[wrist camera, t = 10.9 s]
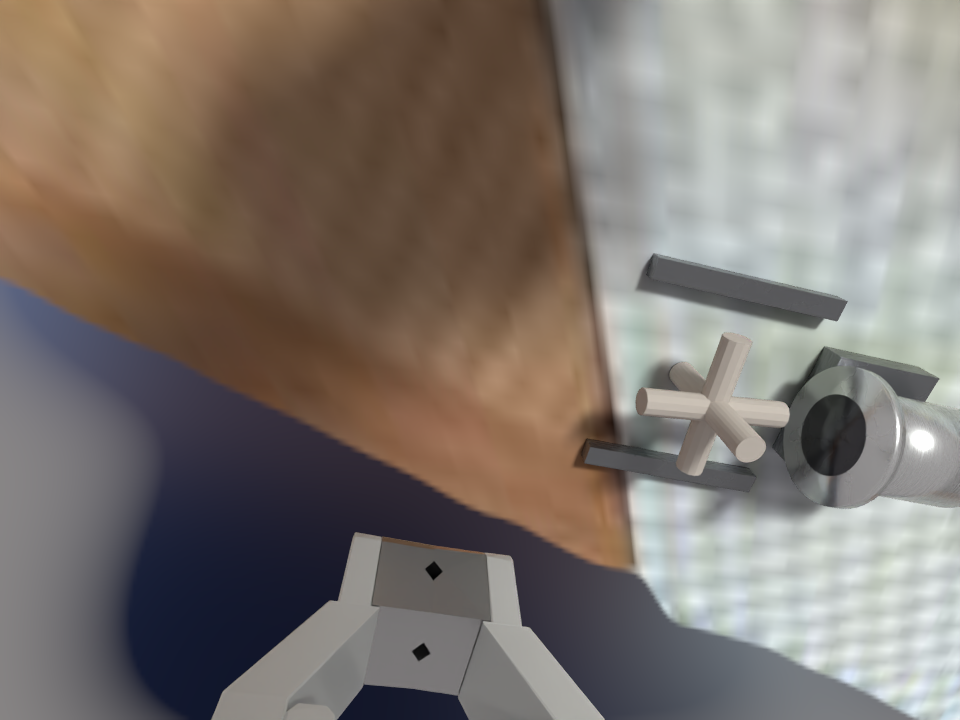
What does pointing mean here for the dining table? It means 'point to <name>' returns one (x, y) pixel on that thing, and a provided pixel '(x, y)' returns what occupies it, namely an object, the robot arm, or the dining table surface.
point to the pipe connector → (714, 407)
